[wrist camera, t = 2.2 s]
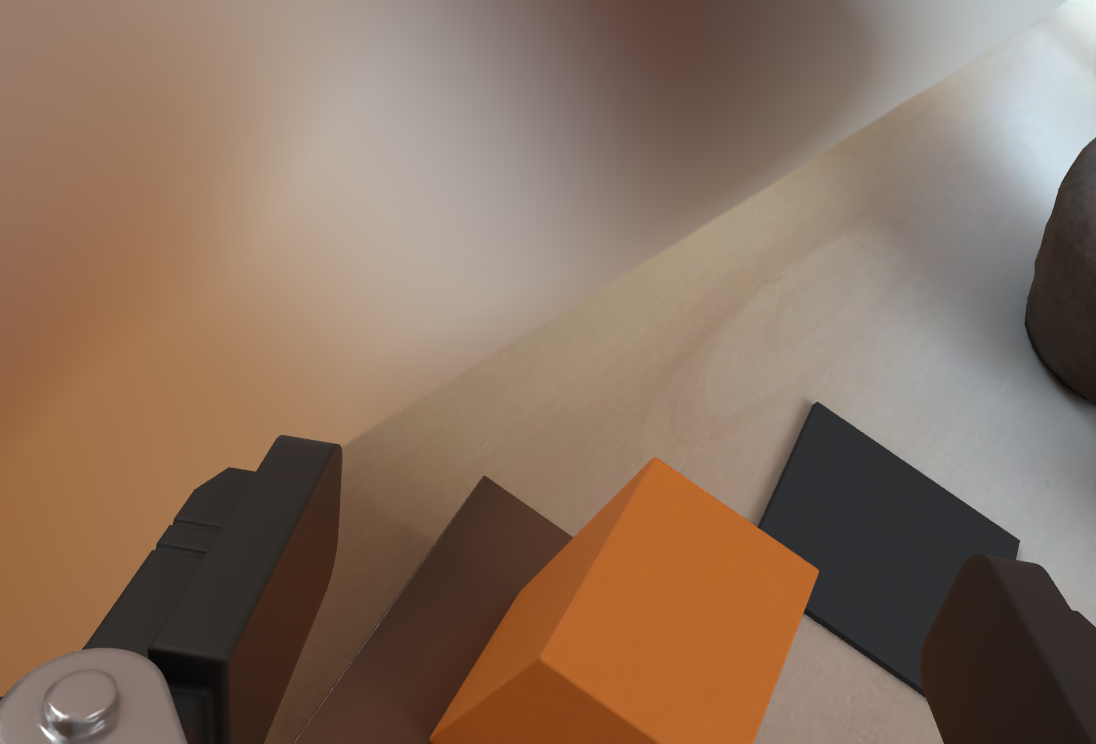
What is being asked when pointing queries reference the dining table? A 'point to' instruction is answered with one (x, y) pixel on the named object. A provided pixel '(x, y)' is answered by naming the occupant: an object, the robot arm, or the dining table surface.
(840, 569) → the mat
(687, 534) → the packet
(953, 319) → the dining table surface
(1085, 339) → the dark grey clay pot
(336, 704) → the shelf
